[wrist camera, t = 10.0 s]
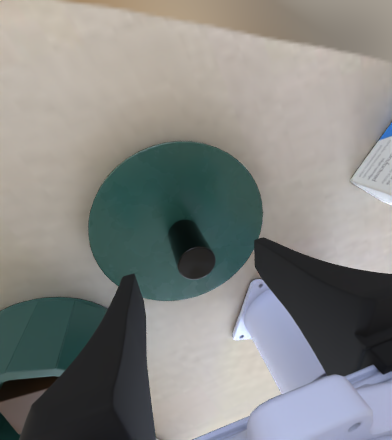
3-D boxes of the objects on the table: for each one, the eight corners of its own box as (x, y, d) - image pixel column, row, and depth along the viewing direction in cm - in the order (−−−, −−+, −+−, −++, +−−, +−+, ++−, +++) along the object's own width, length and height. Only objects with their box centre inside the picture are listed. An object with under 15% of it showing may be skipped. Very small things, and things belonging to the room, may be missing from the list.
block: (75, 333, 20) (62, 384, 16) (88, 363, 21) (79, 416, 18) (19, 346, 19) (-7, 404, 15) (38, 377, 21) (18, 435, 17)
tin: (106, 278, 19) (98, 343, 13) (144, 368, 24) (148, 437, 19) (-70, 326, 17) (-159, 424, 11) (16, 412, 22) (-18, 503, 17)
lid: (254, 124, 16) (301, 129, 12) (257, 269, 22) (289, 308, 18) (59, 160, 14) (27, 183, 10) (120, 310, 20) (118, 366, 16)
